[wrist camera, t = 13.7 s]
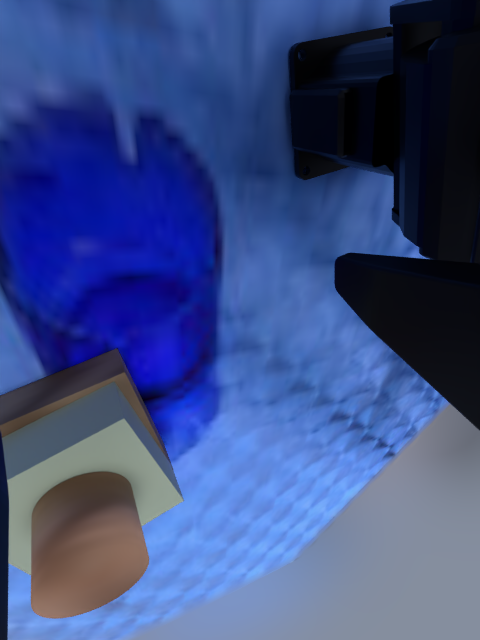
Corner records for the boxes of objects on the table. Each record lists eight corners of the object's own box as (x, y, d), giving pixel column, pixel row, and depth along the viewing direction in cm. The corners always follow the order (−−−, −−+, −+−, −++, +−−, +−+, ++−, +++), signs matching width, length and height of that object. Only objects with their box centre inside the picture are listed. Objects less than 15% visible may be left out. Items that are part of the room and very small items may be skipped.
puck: (109, 456, 18) (123, 529, 15) (145, 501, 21) (163, 568, 18) (9, 510, 17) (4, 599, 14) (62, 548, 20) (67, 628, 17)
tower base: (115, 343, 22) (124, 372, 20) (162, 439, 28) (173, 469, 26) (-63, 415, 20) (-76, 457, 17) (29, 504, 26) (29, 544, 23)
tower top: (114, 381, 20) (124, 418, 18) (170, 463, 25) (183, 500, 23) (-55, 466, 18) (-69, 520, 16) (45, 536, 23) (46, 583, 21)
